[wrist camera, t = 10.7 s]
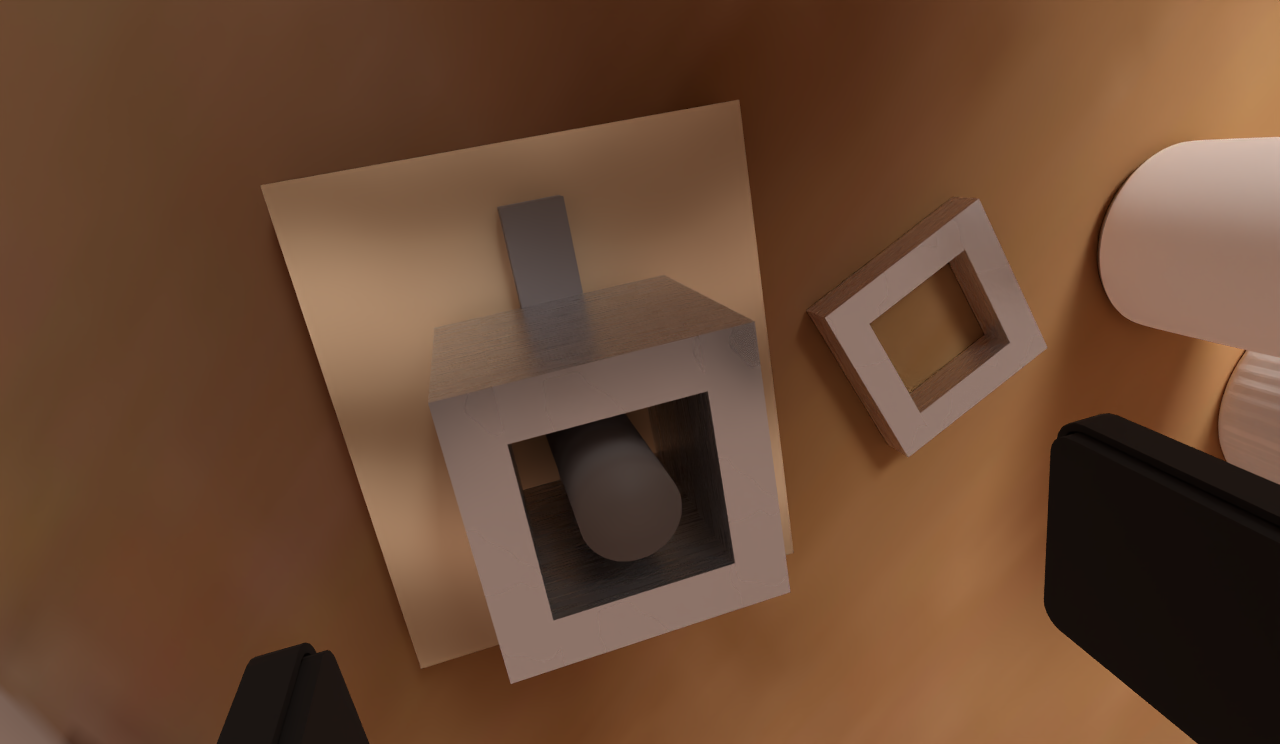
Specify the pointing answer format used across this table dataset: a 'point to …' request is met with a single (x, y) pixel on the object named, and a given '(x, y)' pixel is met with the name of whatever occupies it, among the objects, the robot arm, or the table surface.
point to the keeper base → (501, 281)
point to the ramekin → (1252, 416)
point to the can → (1199, 243)
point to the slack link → (896, 272)
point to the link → (684, 443)
